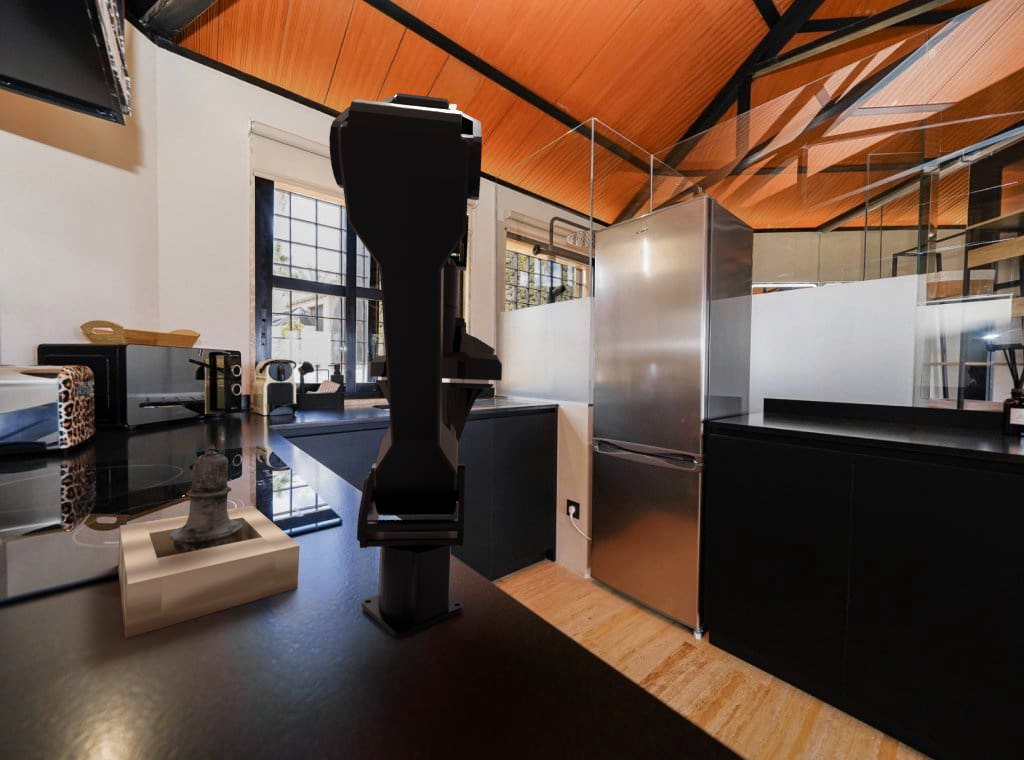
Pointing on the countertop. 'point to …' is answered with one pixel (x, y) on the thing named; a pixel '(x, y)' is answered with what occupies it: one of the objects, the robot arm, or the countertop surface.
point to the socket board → (200, 571)
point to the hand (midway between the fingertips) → (428, 440)
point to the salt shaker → (207, 507)
